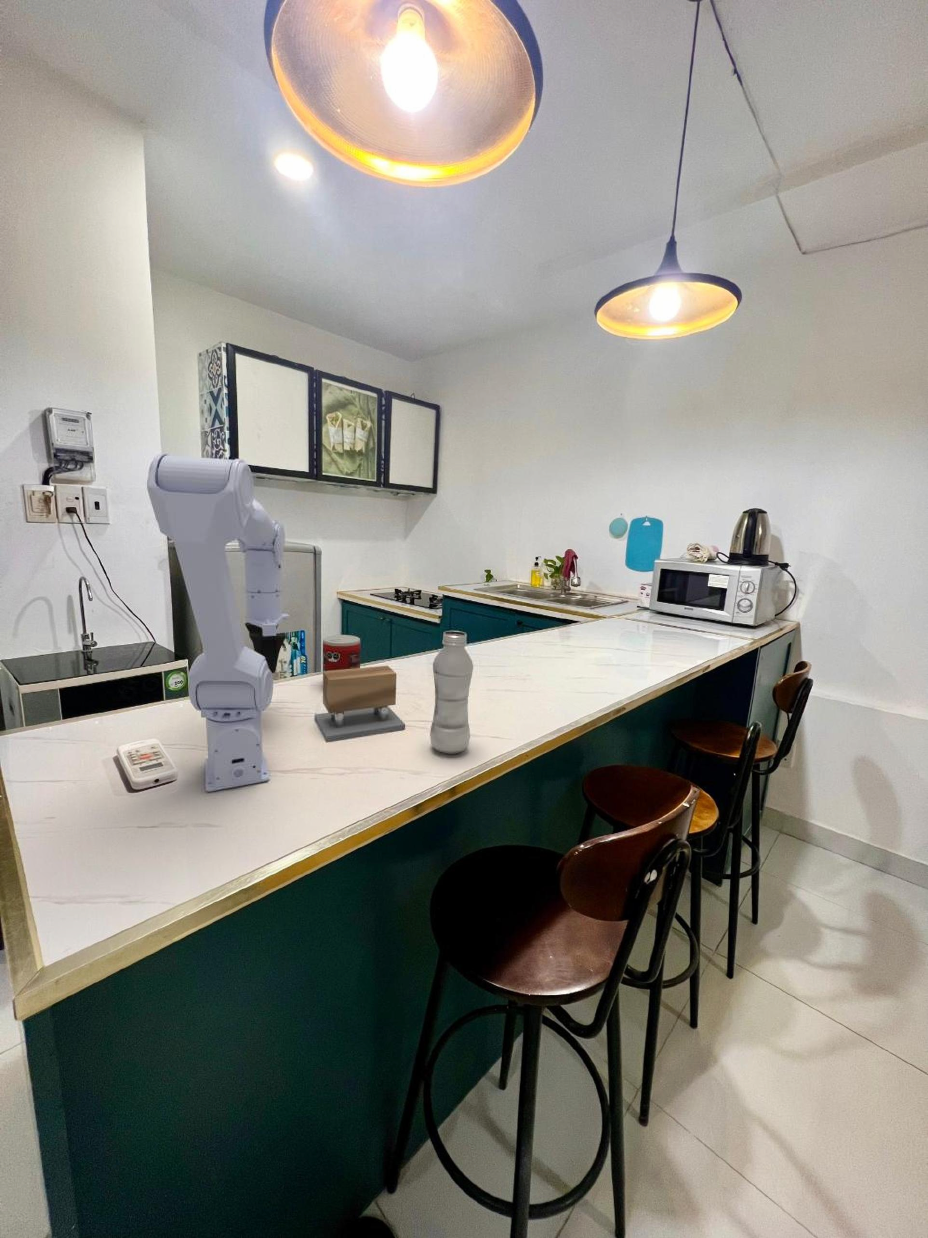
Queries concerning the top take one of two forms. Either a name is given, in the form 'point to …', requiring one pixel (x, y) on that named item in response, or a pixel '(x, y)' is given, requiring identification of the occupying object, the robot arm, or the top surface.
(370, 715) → the peg stand
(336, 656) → the canned food
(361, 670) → the shelf block
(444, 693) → the plastic bottle
